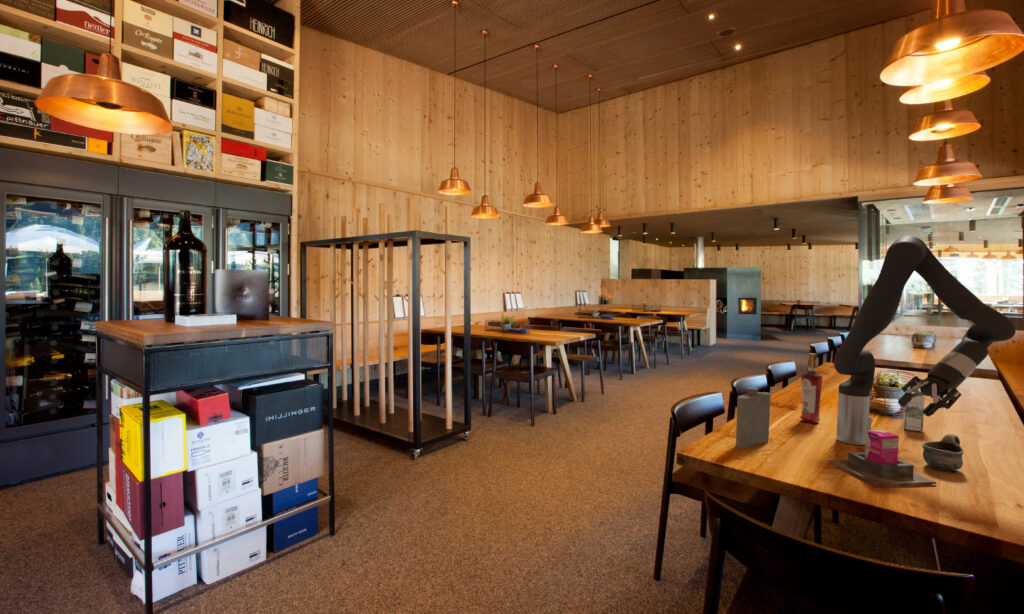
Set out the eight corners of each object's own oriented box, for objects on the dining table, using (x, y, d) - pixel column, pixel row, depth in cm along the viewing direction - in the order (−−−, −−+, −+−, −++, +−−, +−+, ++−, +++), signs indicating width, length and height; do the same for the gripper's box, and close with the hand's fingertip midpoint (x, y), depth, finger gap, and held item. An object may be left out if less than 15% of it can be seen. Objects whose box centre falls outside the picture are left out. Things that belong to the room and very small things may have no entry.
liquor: (795, 420, 199) (798, 353, 198) (807, 418, 202) (809, 352, 201) (812, 425, 192) (815, 355, 191) (824, 423, 196) (827, 354, 194)
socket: (881, 461, 154) (882, 447, 154) (935, 485, 136) (936, 469, 136) (828, 463, 152) (829, 449, 152) (876, 487, 134) (877, 471, 134)
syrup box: (922, 429, 188) (924, 392, 187) (922, 433, 183) (924, 395, 183) (903, 426, 192) (905, 390, 191) (903, 430, 187) (905, 393, 186)
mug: (916, 466, 150) (917, 435, 149) (929, 458, 157) (931, 428, 156) (957, 477, 142) (959, 443, 141) (969, 468, 149) (971, 436, 148)
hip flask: (742, 449, 164) (744, 391, 163) (731, 445, 168) (733, 389, 167) (770, 442, 172) (772, 386, 171) (759, 438, 176) (761, 384, 174)
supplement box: (863, 466, 147) (865, 429, 146) (881, 466, 147) (883, 429, 146) (879, 474, 141) (881, 436, 140) (898, 473, 141) (900, 435, 141)
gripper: (922, 356, 150) (885, 394, 151) (967, 368, 136) (926, 409, 137) (937, 372, 151) (900, 409, 152) (984, 385, 137) (942, 426, 138)
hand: (912, 409), depth 145 cm, fingers open, 8 cm apart
